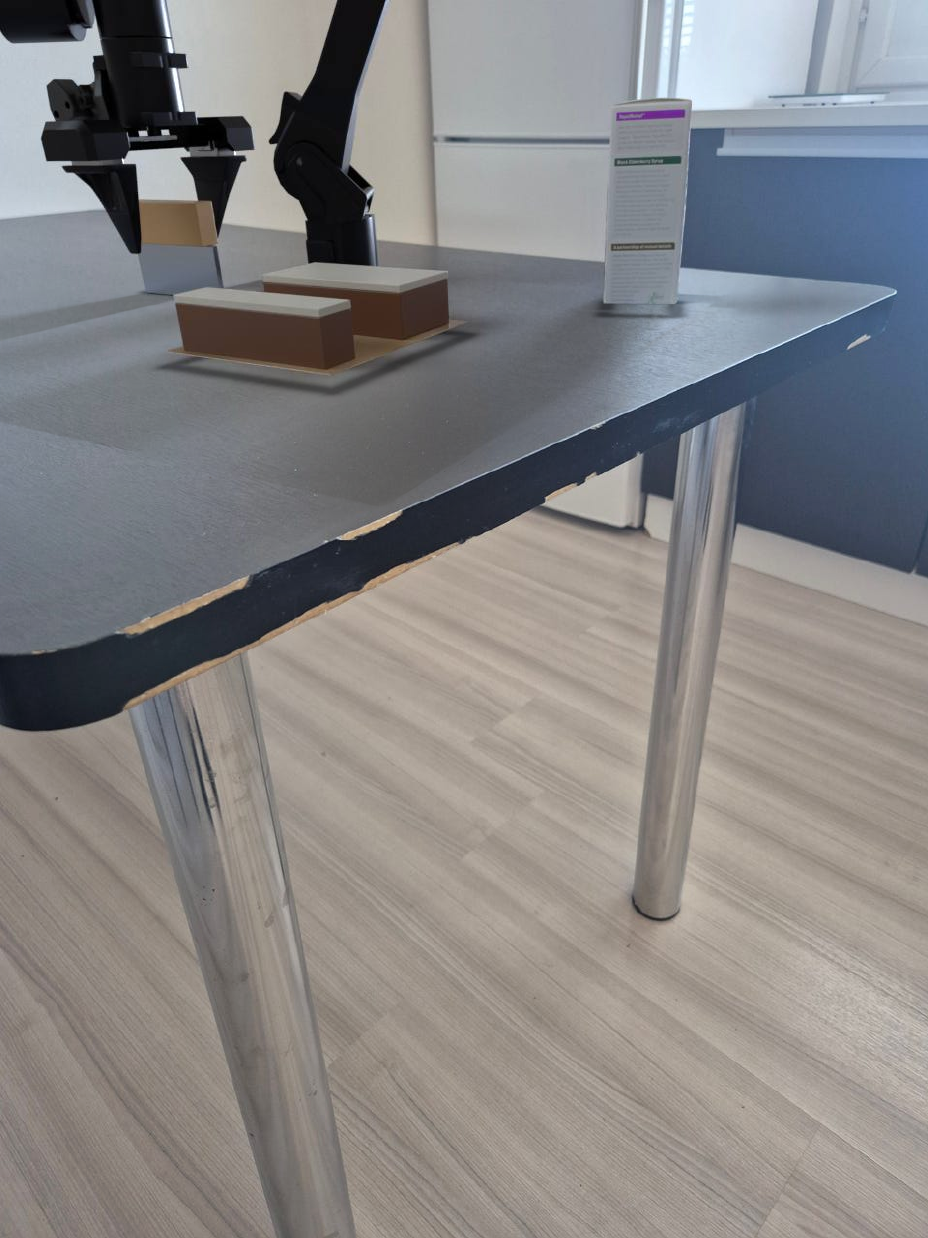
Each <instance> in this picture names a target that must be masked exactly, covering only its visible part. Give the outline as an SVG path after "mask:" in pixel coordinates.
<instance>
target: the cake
mask: <svg viewBox="0 0 928 1238" xmlns="http://www.w3.org/2000/svg"><path fill="white" fill-rule="evenodd" d="M448 278H449V273H448V270H435V269H421V268H420V269H419V268H408V267H407V268H406V267H405V268H404V267H390V266H389V267H388V266H379V267H377V266H361V265H346V264H331V263H316V262H315V263H310V264H308V263H306V264H302V265H298V266H297V265H296V266H293V267H289V268H285V269H280V270H275V271H271V272H266V273H263V274H261V281H262V286H263V292H267V293H278V294H289V295H300V296H312V297H323V298H334V299H345V300H350V306H351V308H350V309H351V317H352V327H353V334H354V335H363V336H372V337H380V338H389V339H398V340H404V339H407V338H409V337H412V336H415V335H417V334H420V333H423V332H425V331H428V330H431V329H433V328H436V327H438V326H441V325H444V324H446V323H449V320H450V304H449V303H450V302H449V279H448Z"/></svg>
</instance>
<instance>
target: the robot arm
mask: <svg viewBox="0 0 928 1238" xmlns="http://www.w3.org/2000/svg"><path fill="white" fill-rule="evenodd" d="M390 2H391V0H336V3H335V6H334V9H333V13H332V16H331V19H330V22H329V26H328V29H327V32H326V36H325V39H324V42H323V46H322V49H321V52H320V54H319V55H320V56H319V59H318V62H317V65H316V68H315V72H314V74H313V76H312V78H311V80H310V82H309V84H308V85H307V87H306V89H305V90H304V92H303V94H302V95H301V94H299V93H298V92H294V91H287V90H286V91H284V92H283V93H282V99H281V106H280V114H279V119H278V124H277V127H276V128H275V131H274V133H273V134H272V135H271V136H270V137H269V139H268V144H269V145H276V146H275V148H274V152H273V159H272V160H273V161H272V162H273V171H274V172H275V175H276V177H277V179H278V182H279V185H280V186H281V187H282V188H283V189H284V190H285V192H286V193H287V194H288V195H289V196H291V197H292V198H294V199H295V200H296V201H298V203H299V205H300V206H301V209H302V211H303V214H304V215H305V217H306V220H304V224H305V233H306V240H305V250H306V257H307V264H310V263H315V262H316V263H331V264H346V265H361V266H377V267H380V265H379V251H378V239H377V238H378V237H377V236H378V235H377V224H376V214H374V213H369V212H370V210H371V207H372V203H373V200H374V195H375V188H374V186H373V185H372V184H371V183H370V182H369V181H367V179H366V178H364V176H362V174H361V173H359V172H358V171H357V170H356V169H355V168H354V167H353V166H352V165H351V158H352V151H353V145H354V139H355V132H356V122H357V114H358V106H359V98H360V93H361V90H362V87H363V85H364V82H365V78H366V75H367V73H368V70H369V66H370V63H371V60H372V57H373V54H374V51H375V49H376V44H377V41H378V40H379V39H378V38H379V36H380V31H381V30H382V26H383V23H384V20H385V18H386V14H387V11H388V8H389V5H390ZM95 23H96V27H97V32H98V36H99V39H100V40H99V41H100V47H101V51H102V52H101V53H102V54H97V55H92V60H93V61H92V71H93V78H94V79H93V81H92V82H91V83H88V84H79V85H78V84H77V83H76V82H75V80H74V79H72V78H53V79H51V81H50V82H49V83H47V85H46V93H47V98H48V104H49V108H50V111H51V114H52V116H53V118H54V120H52V121H50V120H49V121H45V122H44V126H43V129H42V133H41V135H40V141H41V145H42V150H43V153H44V158H45V162H71V164H68V165H61V168H62V170H63V171H64V172H65V173H66V174H74V175H75V176H77V178H79V179H80V180H81V181H82V182H83V183H85V184H86V185H87V186H88V187H89V188H90V189H91V190H92V192H93V193H94V195H95V196H96V197H97V199H98V201H99V202H100V203H101V205H102V207H103V209H104V210H105V212H106V213H107V215H108V217H109V218H110V220H111V222H112V224H113V226H114V227H115V229H116V231H117V233H118V235H119V236H120V238H121V240H122V242H123V243H124V245H125V247H126V248H127V250H128V253H130V254H131V255H138V254H140V253H141V244H142V233H141V220H140V208H139V199H140V197H139V196H140V195H139V182H138V171H137V169H138V168H137V164H136V163H125V161H124V160H125V159H126V158H127V156H128V153H130V152H137V151H150V150H151V151H152V150H169V149H170V150H171V149H184V150H185V151H186V153H189V156H180V157H179V158H180V160H181V162H182V163H183V165H184V166H185V168H186V169H187V170H188V172H189V173H190V175H191V176H192V179H193V182H194V188H195V193H196V198H197V201H211V203H212V209H213V215H214V221H215V227H216V233H217V239H218V240H219V237H220V233H221V229H222V225H223V221H224V219H225V214H226V211H227V206H228V203H229V199H230V196H231V192H232V190H233V188H234V185H235V181H236V178H237V176H238V174H239V170H240V168H241V165H242V163H245V162H247V158H248V157H247V155H246V154H236V152H244V151H255V150H256V148H255V139H254V134H253V133H254V132H253V127H252V125H251V124H250V123H249V122H248V120H247V119H246V118H245V116H244V115H228V116H227V115H224V116H223V115H222V116H197V111H194V110H193V111H186V108H185V101H184V96H183V90H182V84H181V78H180V72H179V70H183V69H189V63H188V57H187V53H180V52H179V53H178V52H176V50H175V43H174V39H173V32H172V25H171V20H170V15H169V8H168V1H167V0H0V34H1V35H2V36H3V37H4V39H6V41H8V42H9V43H10V44H39V43H40V44H42V43H45V44H46V43H73V42H74V43H75V42H77V43H78V42H83V41H84V40H85V38H86V36H87V29H93V28H94V27H93V26H94V24H95ZM162 131H168V134H163V133H162ZM140 132H146V135H140Z"/></svg>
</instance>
